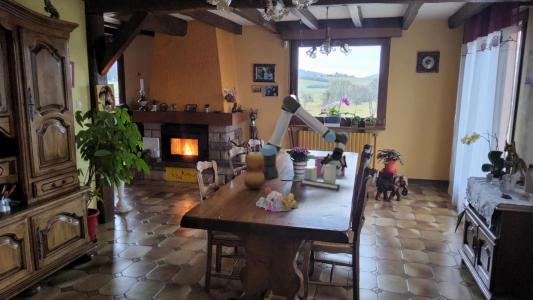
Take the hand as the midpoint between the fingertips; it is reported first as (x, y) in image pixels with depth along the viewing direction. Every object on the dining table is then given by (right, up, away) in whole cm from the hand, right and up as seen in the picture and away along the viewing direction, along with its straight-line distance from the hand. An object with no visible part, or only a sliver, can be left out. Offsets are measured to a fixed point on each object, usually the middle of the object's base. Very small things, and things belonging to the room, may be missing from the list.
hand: (330, 173), depth 272 cm
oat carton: (-15, -7, -4) cm, 17 cm away
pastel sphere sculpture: (-41, -16, -54) cm, 69 cm away
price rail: (-10, -9, -15) cm, 20 cm away
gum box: (+4, -2, +27) cm, 27 cm away
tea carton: (0, -6, +2) cm, 6 cm away
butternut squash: (-55, -9, -20) cm, 59 cm away
